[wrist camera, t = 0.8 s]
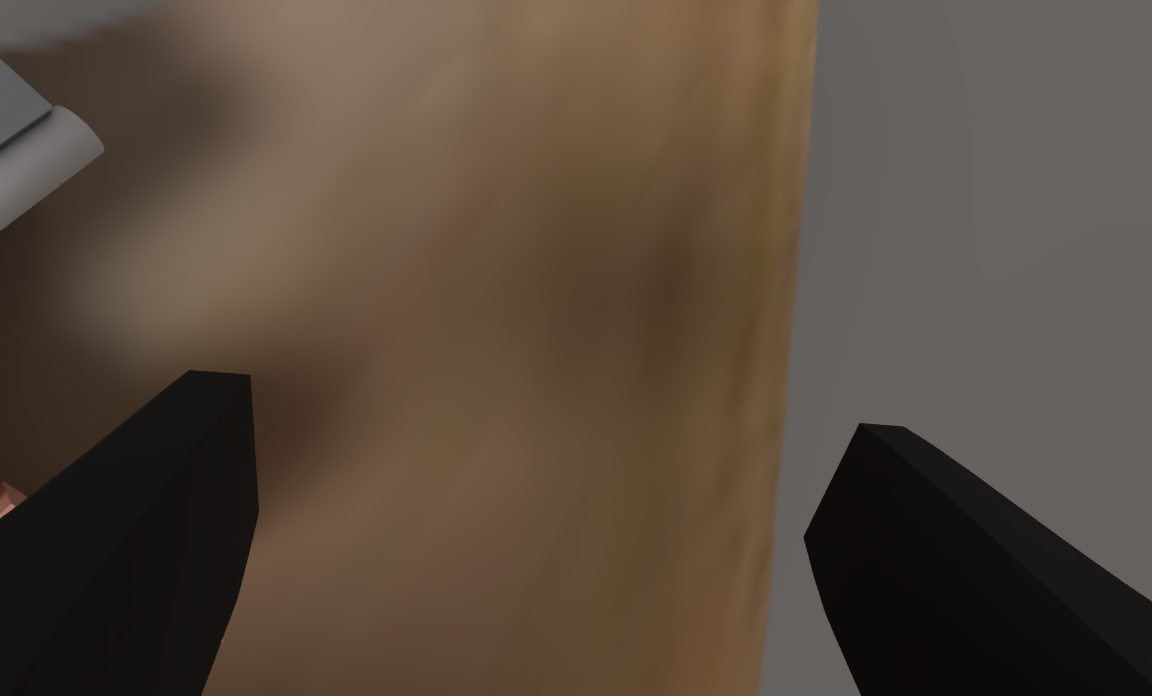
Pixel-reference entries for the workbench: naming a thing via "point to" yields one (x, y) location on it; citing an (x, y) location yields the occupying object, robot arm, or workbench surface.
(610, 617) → the workbench surface
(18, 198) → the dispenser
